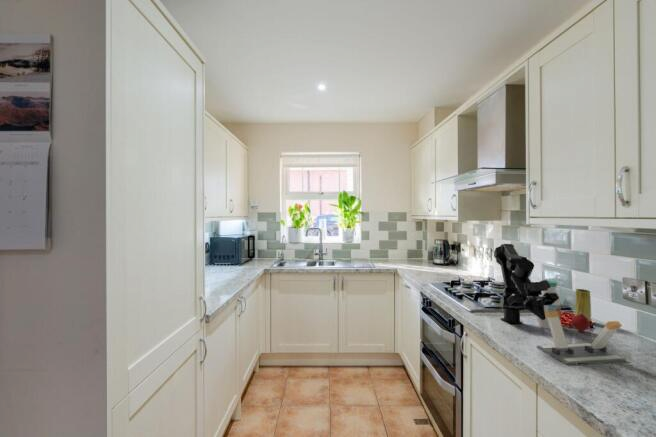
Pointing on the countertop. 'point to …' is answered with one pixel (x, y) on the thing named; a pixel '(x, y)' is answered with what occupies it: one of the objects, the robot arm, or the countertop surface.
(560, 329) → the lever
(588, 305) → the vase
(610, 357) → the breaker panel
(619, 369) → the countertop surface
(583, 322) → the onion
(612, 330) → the on lever
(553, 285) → the milk bottle
